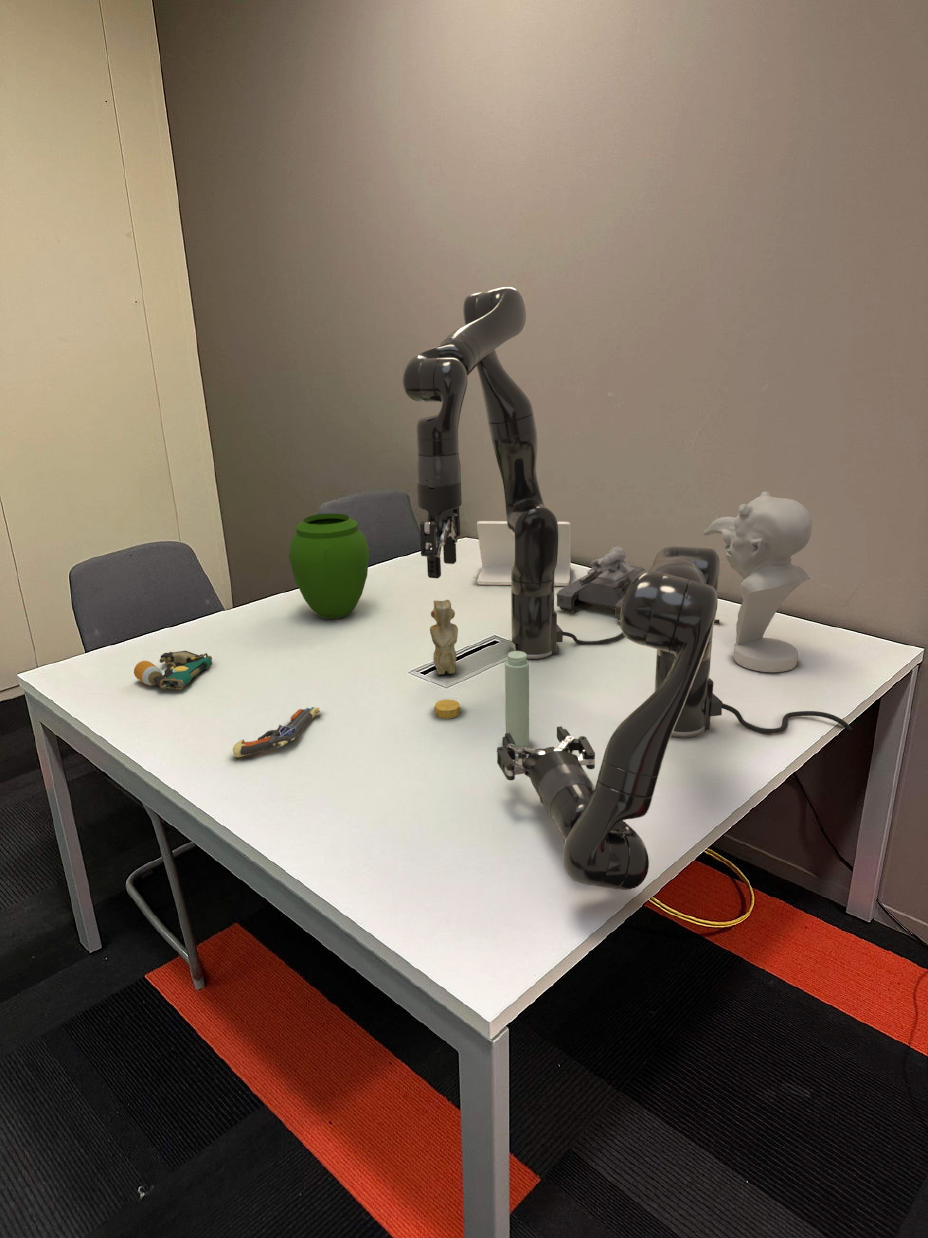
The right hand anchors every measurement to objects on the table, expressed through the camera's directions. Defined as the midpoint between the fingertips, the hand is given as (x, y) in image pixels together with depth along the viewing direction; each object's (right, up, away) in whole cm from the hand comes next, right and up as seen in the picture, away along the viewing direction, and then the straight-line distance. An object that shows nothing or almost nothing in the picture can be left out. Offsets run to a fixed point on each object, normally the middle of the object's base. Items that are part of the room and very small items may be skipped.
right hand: (532, 734), depth 136 cm
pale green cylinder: (-2, -4, +12) cm, 13 cm away
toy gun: (-45, -3, +18) cm, 48 cm away
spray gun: (-72, +6, +45) cm, 85 cm away
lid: (-14, +2, +25) cm, 29 cm away
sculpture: (-15, +8, +43) cm, 46 cm away
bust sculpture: (+49, +10, +46) cm, 68 cm away
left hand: (-15, +27, +15) cm, 34 cm away
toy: (+27, +22, +78) cm, 86 cm away
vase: (-43, +20, +78) cm, 91 cm away
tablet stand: (+6, +31, +103) cm, 107 cm away
